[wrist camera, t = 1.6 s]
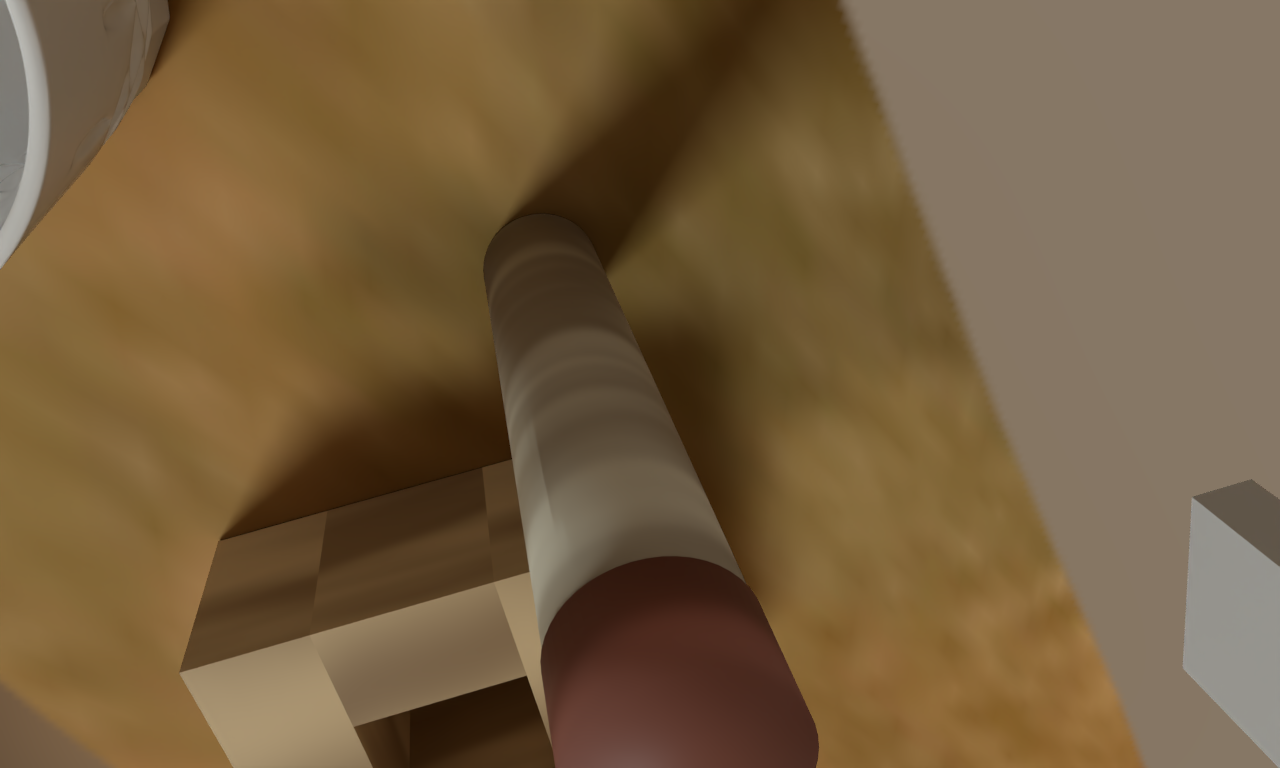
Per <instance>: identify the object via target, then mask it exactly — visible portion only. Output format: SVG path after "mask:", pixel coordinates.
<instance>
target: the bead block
mask: <svg viewBox="0 0 1280 768" xmlns="http://www.w3.org/2000/svg"><path fill="white" fill-rule="evenodd" d="M541 649H542V648H541V642H540V635H539V629H538V622H537V616H536V609H535V603H534V596H533V590H532V584H531V577H530V571H529V564H528V558H527V551H526V545H525V538H524V532H523V525H522V519H521V513H520V506H519V500H518V493H517V487H516V480H515V474H514V467H513V461H512V459H511V460H507V461H504V462H500V463H497V464H493V465H490V466H486V467H482V468H479V469H475V470H472V471H468V472H465V473H461V474H457V475H454V476H450V477H447V478H443V479H440V480H436V481H432V482H429V483H425V484H422V485H418V486H414V487H411V488H407V489H404V490H400V491H397V492H393V493H389V494H386V495H382V496H379V497H375V498H372V499H368V500H364V501H361V502H357V503H354V504H350V505H347V506H343V507H339V508H336V509H332V510H329V511H325V512H322V513H318V514H314V515H311V516H307V517H304V518H300V519H297V520H293V521H289V522H286V523H282V524H279V525H275V526H272V527H268V528H264V529H261V530H257V531H254V532H250V533H246V534H243V535H239V536H236V537H232V538H229V539H225V540H221V541H218V545H217V548H216V551H215V555H214V558H213V561H212V565H211V568H210V572H209V575H208V578H207V582H206V585H205V588H204V592H203V595H202V598H201V602H200V605H199V608H198V612H197V615H196V618H195V622H194V625H193V628H192V632H191V635H190V638H189V642H188V645H187V649H186V652H185V655H184V659H183V662H182V665H181V669H180V672H179V673H180V675H181V677H182V679H183V680H184V682H185V684H186V686H187V687H188V689H189V691H190V693H191V694H192V696H193V698H194V700H195V701H196V703H197V705H198V706H199V708H200V710H201V712H202V713H203V715H204V717H205V719H206V720H207V722H208V724H209V726H210V727H211V729H212V731H213V733H214V734H215V736H216V738H217V740H218V741H219V743H220V745H221V747H222V748H223V750H224V752H225V754H226V755H227V757H228V759H229V760H230V762H231V764H232V766H233V767H234V768H555V762H554V755H553V748H552V742H551V735H550V728H549V722H548V715H547V708H546V701H545V695H544V688H543V681H542V675H541V663H540V659H541Z"/></svg>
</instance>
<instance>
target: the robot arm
mask: <svg viewBox="0 0 1280 768" xmlns="http://www.w3.org/2000/svg"><path fill="white" fill-rule="evenodd" d="M1190 526H1191V527H1190V544H1189V564H1188V581H1187V600H1186V619H1185V636H1184V655H1183V669H1184V670H1185V671H1186V672H1187V673H1188V674H1189V675H1190V676H1191V677H1192V678H1193V679H1194V680H1195V681H1196V682H1197V683H1198V685H1199V686H1200V687H1201V688H1202V689H1203V690H1204V691H1205V692H1206V693H1207V694H1208V695H1209V696H1210V697H1211V698H1212V699H1213V700H1214V701H1215V702H1216V703H1217V704H1218V705H1219V706H1220V707H1221V708H1222V709H1223V710H1224V711H1225V712H1226V713H1227V715H1229V717H1230V718H1231V719H1232V720H1233V721H1234V722H1235V723H1236V724H1237V725H1238V726H1239V727H1240V728H1241V729H1242V730H1243V731H1244V732H1245V733H1246V734H1247V735H1248V736H1249V737H1250V738H1251V739H1252V740H1253V741H1254V743H1256V745H1257V746H1258V747H1259V748H1260V749H1261V750H1262V751H1263V752H1264V753H1265V754H1266V755H1267V756H1268V757H1269V758H1270V759H1271V760H1272V761H1273V762H1274V763H1275V764H1276V765H1277V766H1278V767H1279V768H1280V500H1279V499H1278V498H1277V497H1275V496H1274V495H1273V494H1271V493H1270V492H1268V491H1267V490H1266V489H1264V488H1263V487H1261V486H1260V485H1259V484H1257V483H1256V482H1255V481H1253V480H1248V481H1244V482H1241V483H1237V484H1234V485H1231V486H1227V487H1224V488H1221V489H1217V490H1214V491H1211V492H1207V493H1204V494H1200V495H1198V496H1194V497H1192V507H1191V525H1190Z"/></svg>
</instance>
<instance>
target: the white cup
mask: <svg viewBox="0 0 1280 768" xmlns="http://www.w3.org/2000/svg"><path fill="white" fill-rule="evenodd" d="M169 20H170V13H169V7H168V0H0V269H1V268H2V267H3V266H4V264H5V263H6V262H7V261H8V260H9V258H10V257H11V256H12V255H13V254H14V252H15V251H16V250H17V249H18V248H19V246H20V245H21V244H22V243H23V242H24V241H25V239H26V238H27V237H28V236H29V235H30V233H31V232H32V231H33V230H34V229H35V227H36V226H37V225H38V224H39V223H40V222H41V220H42V219H43V218H44V217H45V216H46V215H47V214H48V212H49V211H50V210H51V209H52V208H53V207H54V205H55V204H56V203H57V202H58V201H59V200H60V198H61V197H62V196H63V195H64V194H65V193H66V192H67V190H68V189H69V188H70V187H71V186H72V185H73V184H74V182H75V181H76V180H77V179H78V178H79V177H80V175H81V174H82V173H83V172H84V171H85V170H86V168H87V167H88V166H89V165H90V163H91V162H92V161H93V159H94V158H95V157H96V155H97V154H98V152H99V151H100V149H101V148H102V146H103V145H104V144H105V142H106V141H107V140H108V139H109V137H110V136H111V135H112V134H113V132H114V131H115V130H116V129H117V127H118V125H119V124H120V122H121V120H122V119H123V117H124V116H125V114H126V112H127V110H128V109H129V107H130V105H131V103H132V101H133V100H134V99H135V98H136V97H137V96H138V95H139V94H140V93H141V92H142V91H143V89H144V88H145V87H146V86H147V83H148V81H149V78H150V75H151V72H152V69H153V66H154V63H155V60H156V57H157V55H158V52H159V49H160V46H161V43H162V40H163V37H164V34H165V31H166V29H167V26H168V23H169Z"/></svg>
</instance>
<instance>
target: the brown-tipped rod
mask: <svg viewBox="0 0 1280 768" xmlns="http://www.w3.org/2000/svg"><path fill="white" fill-rule="evenodd" d="M483 271H484V280H485V286H486V293H487V299H488V306H489V312H490V319H491V325H492V332H493V338H494V345H495V351H496V357H497V364H498V370H499V377H500V383H501V390H502V396H503V403H504V409H505V416H506V422H507V429H508V435H509V441H510V448H511V454H512V461H513V467H514V474H515V480H516V487H517V493H518V500H519V506H520V513H521V519H522V525H523V532H524V538H525V545H526V551H527V558H528V564H529V571H530V577H531V584H532V590H533V596H534V603H535V609H536V616H537V622H538V629H539V635H540V642H541V648H542V649H541V659H540V663H541V675H542V681H543V688H544V695H545V701H546V708H547V715H548V722H549V728H550V735H551V742H552V748H553V755H554V762H555V768H816V764H817V760H818V751H819V743H818V734H817V730H816V726H815V723H814V721H813V719H812V716H811V714H810V712H809V710H808V708H807V705H806V703H805V701H804V699H803V697H802V695H801V692H800V690H799V688H798V686H797V684H796V682H795V679H794V677H793V675H792V673H791V671H790V668H789V666H788V664H787V662H786V660H785V658H784V655H783V653H782V651H781V649H780V647H779V645H778V642H777V640H776V638H775V636H774V634H773V631H772V629H771V627H770V625H769V623H768V621H767V618H766V616H765V614H764V612H763V610H762V608H761V605H760V603H759V601H758V599H757V597H756V596H755V594H754V593H753V592H752V590H751V589H750V587H749V586H748V585H747V584H746V582H745V580H744V577H743V575H742V573H741V571H740V569H739V566H738V564H737V562H736V560H735V558H734V555H733V553H732V551H731V549H730V547H729V544H728V542H727V540H726V538H725V536H724V533H723V531H722V529H721V527H720V525H719V522H718V520H717V518H716V516H715V514H714V511H713V509H712V507H711V505H710V503H709V500H708V498H707V496H706V494H705V492H704V489H703V487H702V485H701V483H700V481H699V478H698V476H697V474H696V472H695V469H694V467H693V465H692V463H691V461H690V458H689V456H688V454H687V452H686V450H685V447H684V445H683V443H682V441H681V439H680V436H679V434H678V432H677V430H676V428H675V425H674V423H673V421H672V419H671V417H670V414H669V412H668V410H667V408H666V406H665V403H664V401H663V399H662V397H661V395H660V392H659V390H658V388H657V386H656V384H655V381H654V379H653V377H652V375H651V373H650V370H649V368H648V366H647V364H646V362H645V359H644V357H643V355H642V353H641V350H640V348H639V346H638V344H637V342H636V339H635V337H634V335H633V333H632V331H631V328H630V326H629V324H628V322H627V320H626V317H625V315H624V313H623V311H622V309H621V306H620V304H619V302H618V300H617V298H616V295H615V293H614V291H613V289H612V287H611V284H610V282H609V280H608V278H607V276H606V273H605V271H604V269H603V267H602V265H601V262H600V260H599V258H598V256H597V254H596V251H595V249H594V247H593V245H592V243H591V241H590V239H589V238H588V236H587V235H586V234H585V233H584V231H583V230H582V229H581V228H579V227H578V226H577V225H576V224H574V223H573V222H571V221H569V220H567V219H565V218H563V217H560V216H557V215H551V214H532V215H527V216H524V217H521V218H518V219H516V220H514V221H512V222H510V223H509V224H507V225H506V226H505V227H503V228H502V229H501V230H500V231H499V232H498V233H497V234H496V235H495V237H494V238H493V240H492V241H491V243H490V245H489V247H488V249H487V252H486V255H485V259H484V268H483Z"/></svg>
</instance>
